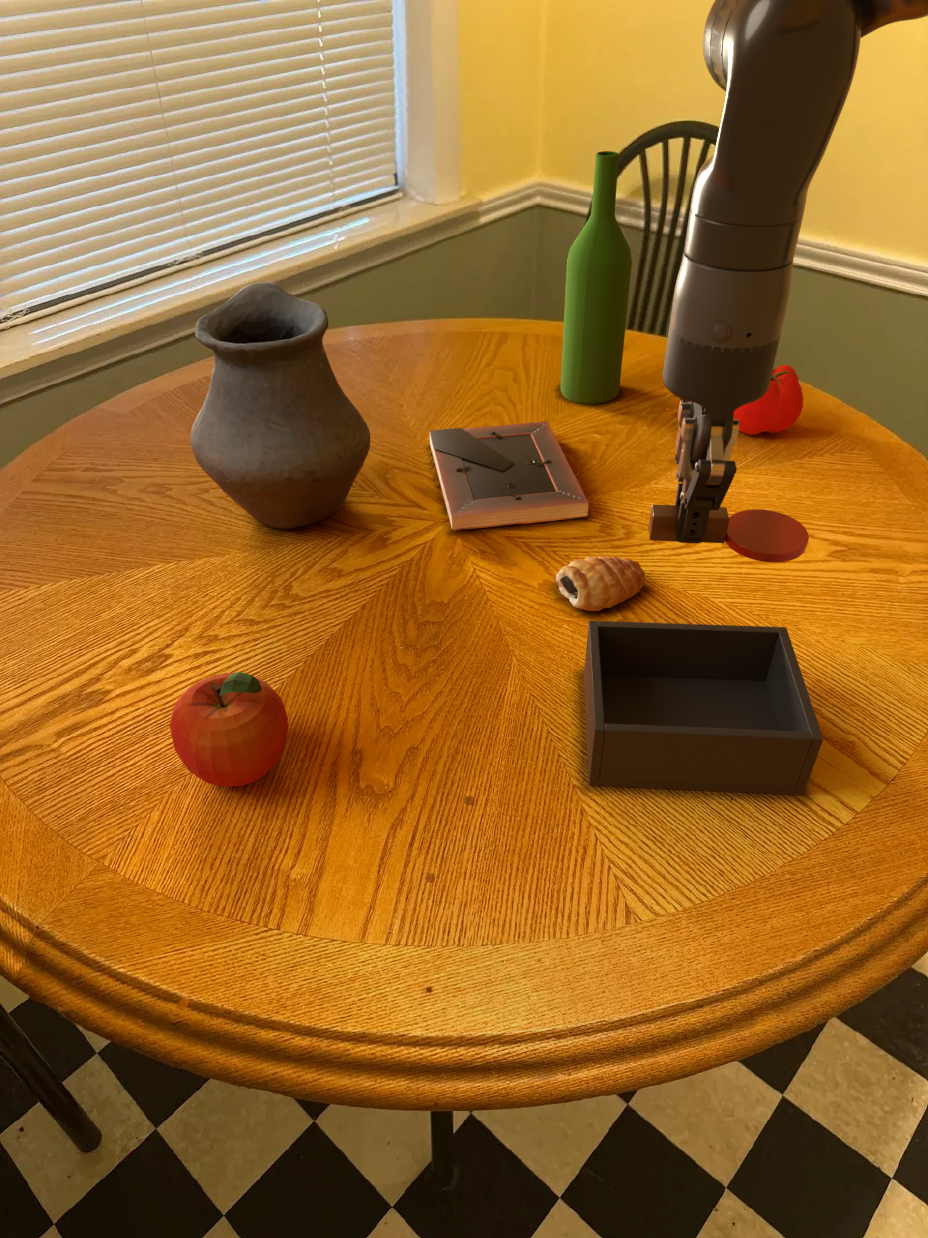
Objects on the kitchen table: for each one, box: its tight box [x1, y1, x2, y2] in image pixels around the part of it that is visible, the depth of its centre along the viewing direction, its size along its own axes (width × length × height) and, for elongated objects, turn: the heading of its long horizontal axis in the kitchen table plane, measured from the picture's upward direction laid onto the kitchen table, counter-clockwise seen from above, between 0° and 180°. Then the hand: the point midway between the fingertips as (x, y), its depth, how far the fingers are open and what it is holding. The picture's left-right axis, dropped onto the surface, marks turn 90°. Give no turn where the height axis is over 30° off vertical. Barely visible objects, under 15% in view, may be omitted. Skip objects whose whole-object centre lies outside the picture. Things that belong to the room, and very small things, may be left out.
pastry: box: [555, 555, 646, 612], centre depth 92 cm, size 9×7×4 cm
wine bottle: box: [559, 150, 633, 405], centre depth 121 cm, size 9×9×32 cm
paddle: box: [647, 504, 810, 563], centre depth 70 cm, size 13×7×2 cm, turn 85°
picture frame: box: [429, 420, 590, 531], centre depth 110 cm, size 16×2×22 cm
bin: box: [583, 620, 824, 796], centre depth 75 cm, size 18×14×7 cm
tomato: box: [734, 364, 804, 436], centre depth 118 cm, size 11×11×9 cm
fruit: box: [169, 671, 289, 788], centre depth 72 cm, size 10×10×10 cm
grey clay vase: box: [189, 281, 371, 530], centre depth 100 cm, size 21×22×25 cm
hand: (687, 531), depth 70 cm, fingers closed on paddle, 2 cm apart
